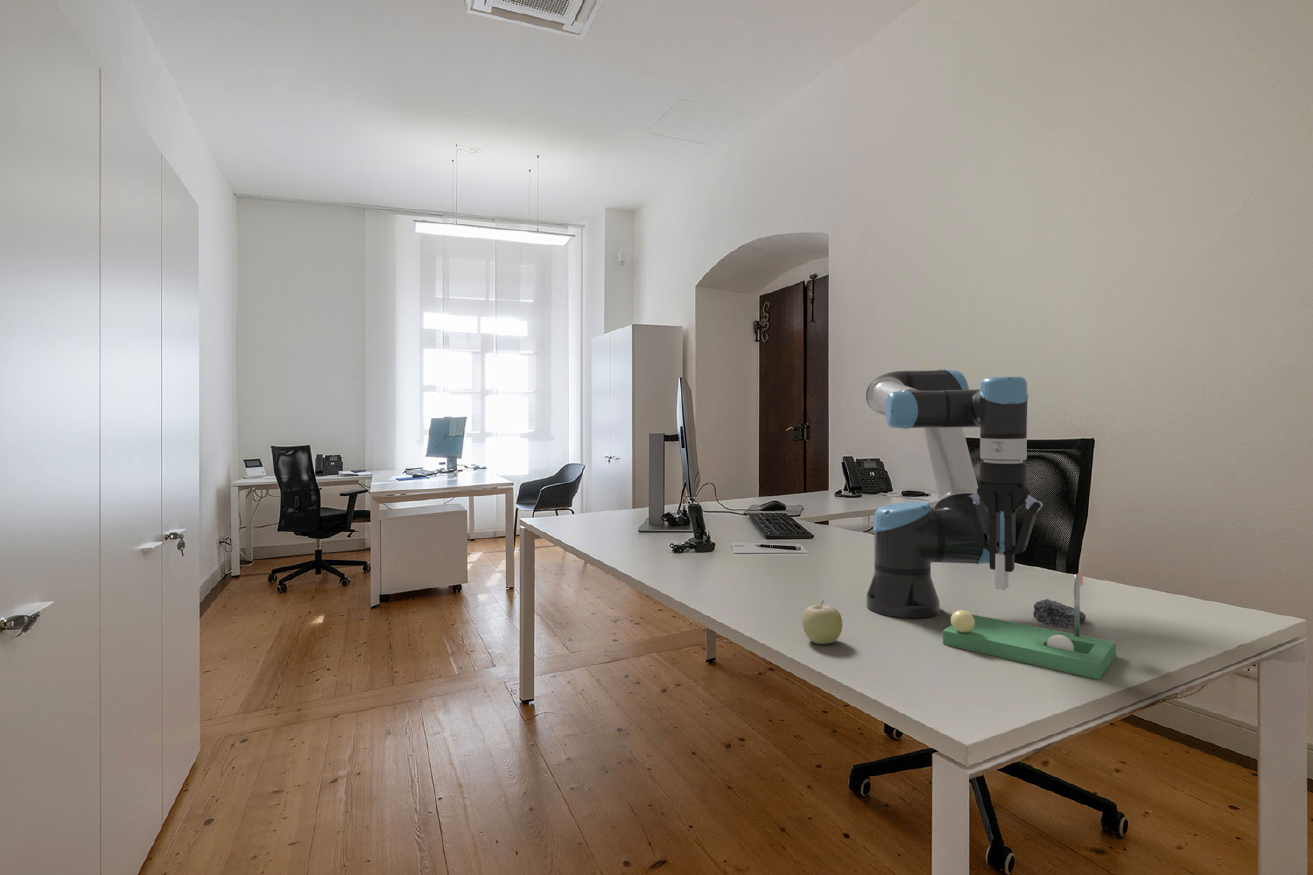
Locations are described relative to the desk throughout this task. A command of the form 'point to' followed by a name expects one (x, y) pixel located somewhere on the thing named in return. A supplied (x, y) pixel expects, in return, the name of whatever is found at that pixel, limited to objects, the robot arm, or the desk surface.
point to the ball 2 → (1060, 642)
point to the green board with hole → (1034, 646)
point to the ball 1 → (962, 621)
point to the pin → (1077, 602)
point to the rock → (1056, 614)
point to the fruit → (822, 623)
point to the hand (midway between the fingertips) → (1001, 587)
